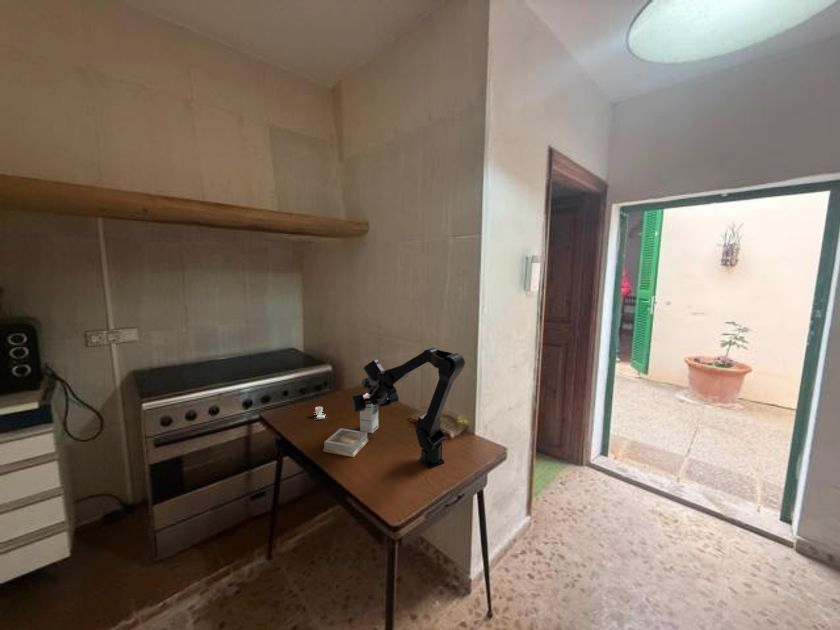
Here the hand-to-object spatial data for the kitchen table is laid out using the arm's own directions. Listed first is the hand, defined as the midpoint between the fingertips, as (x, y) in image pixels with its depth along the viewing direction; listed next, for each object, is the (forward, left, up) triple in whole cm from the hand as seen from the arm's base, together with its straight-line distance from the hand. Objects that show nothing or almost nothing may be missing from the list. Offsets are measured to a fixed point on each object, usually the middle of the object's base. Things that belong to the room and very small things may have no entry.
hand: (369, 408), depth 135 cm
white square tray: (+13, +8, -9) cm, 18 cm away
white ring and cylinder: (+16, -23, -10) cm, 30 cm away
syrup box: (0, 0, -9) cm, 9 cm away
